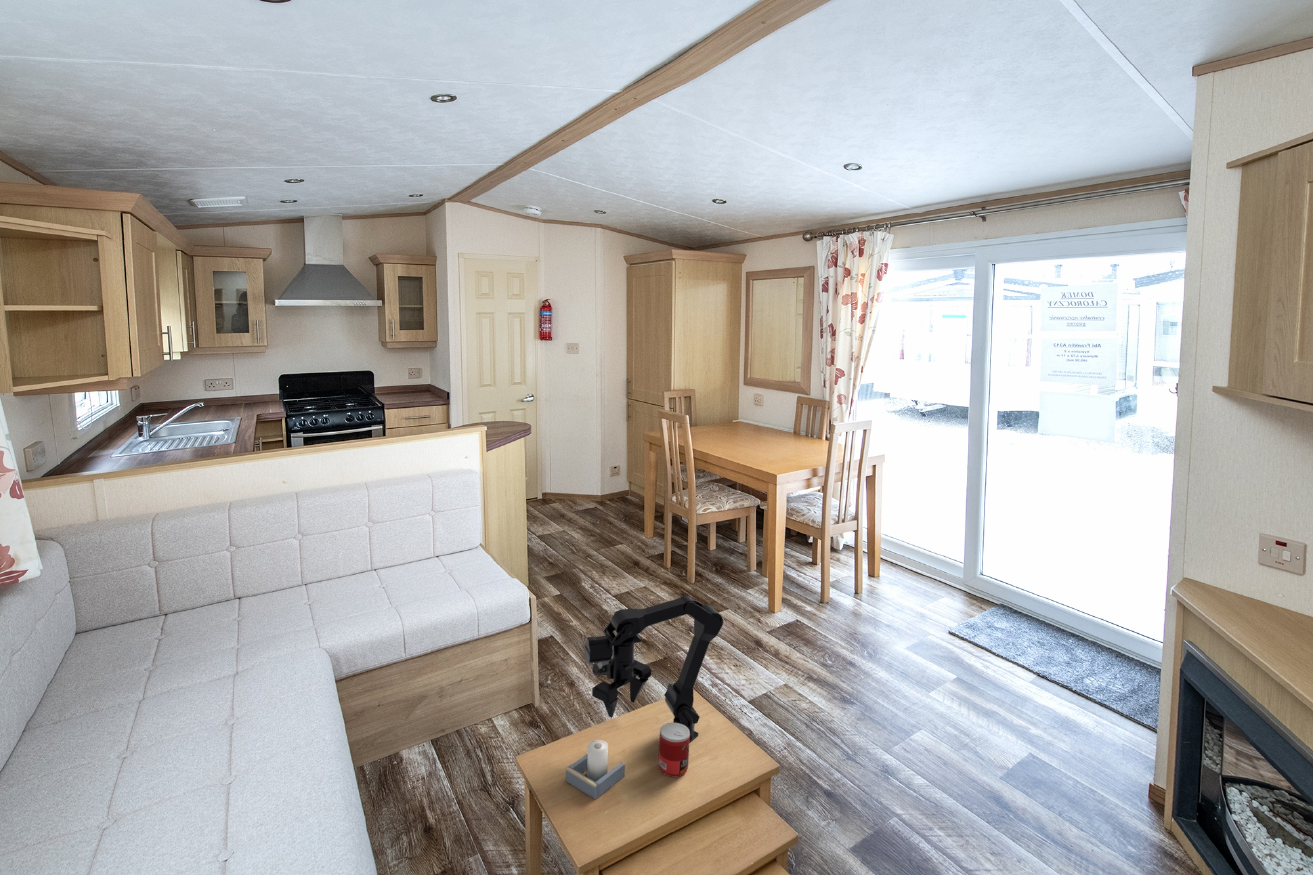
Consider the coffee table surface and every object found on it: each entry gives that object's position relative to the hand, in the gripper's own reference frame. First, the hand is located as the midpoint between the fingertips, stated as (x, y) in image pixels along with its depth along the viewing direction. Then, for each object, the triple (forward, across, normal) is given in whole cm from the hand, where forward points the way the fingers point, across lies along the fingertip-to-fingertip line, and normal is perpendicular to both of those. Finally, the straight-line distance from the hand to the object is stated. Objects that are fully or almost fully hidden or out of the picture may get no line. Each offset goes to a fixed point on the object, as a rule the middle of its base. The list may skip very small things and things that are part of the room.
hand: (621, 709), depth 187 cm
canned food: (+12, -3, +16) cm, 20 cm away
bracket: (+12, +13, +3) cm, 18 cm away
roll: (+12, +13, +3) cm, 18 cm away
